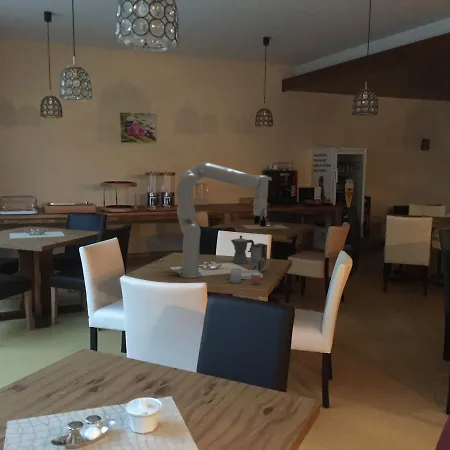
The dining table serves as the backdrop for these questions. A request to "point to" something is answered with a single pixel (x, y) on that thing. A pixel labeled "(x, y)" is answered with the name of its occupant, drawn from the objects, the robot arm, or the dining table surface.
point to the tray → (248, 274)
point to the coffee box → (258, 257)
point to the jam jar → (255, 277)
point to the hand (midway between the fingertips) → (259, 225)
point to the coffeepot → (240, 250)
